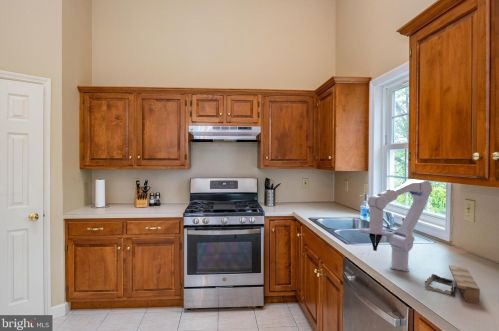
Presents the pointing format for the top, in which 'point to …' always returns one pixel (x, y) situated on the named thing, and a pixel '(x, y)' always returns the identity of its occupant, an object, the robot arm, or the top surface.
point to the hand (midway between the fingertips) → (375, 250)
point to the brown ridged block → (466, 284)
